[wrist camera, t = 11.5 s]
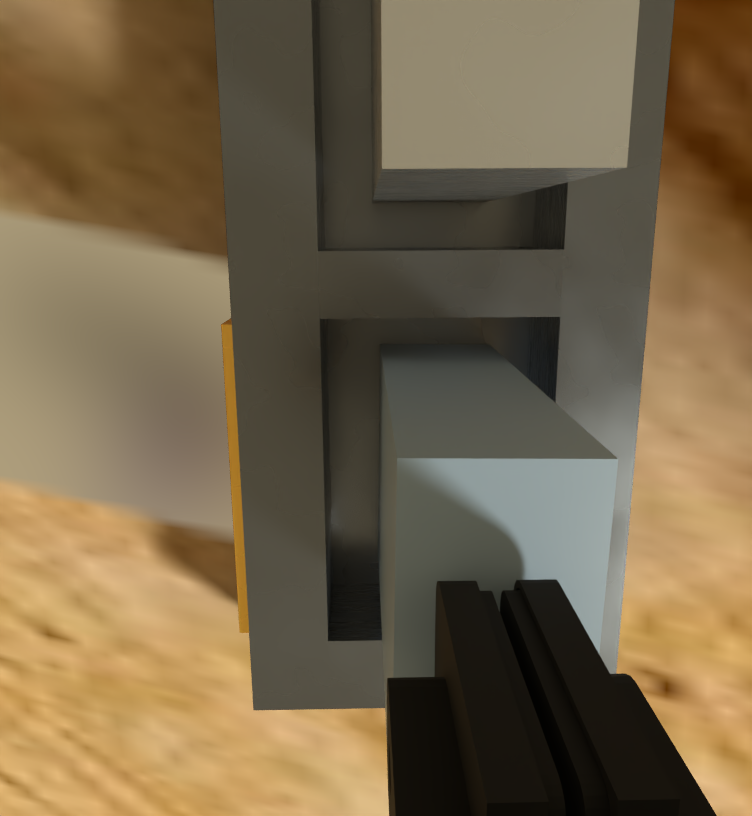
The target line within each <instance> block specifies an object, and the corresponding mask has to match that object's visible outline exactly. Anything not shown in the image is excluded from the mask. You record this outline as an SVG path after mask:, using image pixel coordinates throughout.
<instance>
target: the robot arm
mask: <svg viewBox="0 0 752 816" xmlns="http://www.w3.org/2000/svg"><path fill="white" fill-rule="evenodd" d="M387 764H388V796H389V816H717V815H716V814H715V812H714V810H713V809H712V807H711V806H710V804H709V802H708V801H707V799H706V797H705V796H704V794H703V792H702V791H701V789H700V787H699V786H698V784H697V782H696V781H695V779H694V778H693V776H692V774H691V773H690V771H689V769H688V768H687V766H686V764H685V763H684V761H683V759H682V758H681V756H680V754H679V753H678V751H677V750H676V748H675V746H674V745H673V743H672V741H671V740H670V738H669V736H668V735H667V733H666V731H665V730H664V728H663V726H662V725H661V723H660V721H659V720H658V718H657V717H656V715H655V713H654V712H653V710H652V708H651V707H650V705H649V703H648V702H647V700H646V698H645V697H644V695H643V693H642V692H641V690H640V689H639V687H638V685H637V684H636V682H635V681H634V680H633V679H632V677H631V676H629V675H627V674H610V673H609V671H608V669H607V667H606V666H605V664H604V662H603V660H602V658H601V657H600V655H599V653H598V651H597V650H596V648H595V646H594V644H593V642H592V641H591V639H590V637H589V635H588V633H587V632H586V630H585V628H584V626H583V625H582V623H581V621H580V619H579V617H578V616H577V614H576V612H575V610H574V608H573V607H572V605H571V603H570V601H569V600H568V598H567V596H566V594H565V592H564V591H563V589H562V587H561V585H560V584H559V582H558V581H557V580H556V579H544V580H516V582H515V585H514V590H503V591H502V593H501V600H500V611H499V609H498V606H497V603H496V600H495V598H494V595H493V592H492V591H480V590H479V587H478V584H477V582H476V581H437V584H436V612H435V676H434V677H401V678H387Z"/></svg>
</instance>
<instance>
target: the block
mask: <svg viewBox="0 0 752 816" xmlns="http://www.w3.org/2000/svg"><path fill="white" fill-rule="evenodd" d="M617 468H618V458H617V457H616V456H614V455H613V454H612V453H611V452H610V451H609V450H608V449H607V448H605V447H604V446H603V445H602V444H601V443H600V442H599V441H598V440H596V439H595V438H594V437H593V436H592V435H591V434H590V433H589V432H587V431H586V430H585V429H584V428H583V427H582V426H581V425H580V424H578V423H577V422H576V421H575V420H574V419H573V418H572V417H571V416H569V415H568V414H567V413H566V412H565V411H564V410H563V409H562V408H560V407H559V406H558V405H557V404H556V403H555V402H554V401H553V400H551V399H550V398H549V397H548V396H547V395H546V394H545V393H544V392H542V391H541V390H540V389H539V388H538V387H537V386H536V385H535V384H533V383H532V382H531V381H530V380H529V379H528V378H527V377H526V376H524V375H523V374H522V373H521V372H520V371H519V370H518V369H517V368H515V367H514V366H513V365H512V364H511V363H510V362H509V361H508V360H506V359H505V358H504V357H503V356H502V355H501V354H500V353H499V352H497V351H496V350H495V349H494V348H493V347H492V346H491V345H490V344H380V388H379V483H378V561H379V582H380V604H381V626H382V647H383V669H384V691H385V712H386V734H387V678H401V677H434V676H435V612H436V584H437V581H476V582H477V584H478V587H479V590H480V591H492V592H493V595H494V598H495V600H496V603H497V606H498V609H499V611H500V600H501V593H502V591H503V590H514V585H515V582H516V580H544V579H556V580H557V581H558V582H559V584H560V585H561V587H562V589H563V591H564V592H565V594H566V596H567V598H568V600H569V601H570V603H571V605H572V607H573V608H574V610H575V612H576V614H577V616H578V617H579V619H580V621H581V623H582V625H583V626H584V628H585V630H586V632H587V633H588V635H589V637H590V639H591V641H592V642H593V644H594V646H595V648H596V650H597V651H598V653H599V652H600V642H601V632H602V622H603V611H604V601H605V591H606V581H607V570H608V560H609V550H610V540H611V529H612V519H613V509H614V499H615V488H616V478H617Z"/></svg>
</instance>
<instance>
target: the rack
mask: <svg viewBox="0 0 752 816" xmlns="http://www.w3.org/2000/svg"><path fill="white" fill-rule="evenodd" d="M213 3H214V21H215V38H216V56H217V73H218V91H219V109H220V126H221V144H222V162H223V179H224V197H225V215H226V232H227V250H228V268H229V284H230V303H231V319H229V320H228V321H226V322H224V323H223V324H221V329H222V344H223V345H222V346H223V363H224V379H225V396H226V412H227V429H228V446H229V462H230V479H231V495H232V512H233V529H234V545H235V562H236V578H237V595H238V611H239V628H240V633H249V638H250V656H251V673H252V691H253V709H254V710H294V709H352V708H385V691H384V669H383V647H382V626H381V604H380V582H379V561H378V483H379V388H380V344H490V345H491V346H492V347H493V348H494V349H495V350H496V351H497V352H499V353H500V354H501V355H502V356H503V357H504V358H505V359H506V360H508V361H509V362H510V363H511V364H512V365H513V366H514V367H515V368H517V369H518V370H519V371H520V372H521V373H522V374H523V375H524V376H526V377H527V378H528V379H529V380H530V381H531V382H532V383H533V384H535V385H536V386H537V387H538V388H539V389H540V390H541V391H542V392H544V393H545V394H546V395H547V396H548V397H549V398H550V399H551V400H553V401H554V402H555V403H556V404H557V405H558V406H559V407H560V408H562V409H563V410H564V411H565V412H566V413H567V414H568V415H569V416H571V417H572V418H573V419H574V420H575V421H576V422H577V423H578V424H580V425H581V426H582V427H583V428H584V429H585V430H586V431H587V432H589V433H590V434H591V435H592V436H593V437H594V438H595V439H596V440H598V441H599V442H600V443H601V444H602V445H603V446H604V447H605V448H607V449H608V450H609V451H610V452H611V453H612V454H613V455H614V456H616V457H617V458H618V468H617V478H616V488H615V499H614V509H613V519H612V529H611V540H610V550H609V560H608V570H607V581H606V591H605V601H604V611H603V622H602V632H601V642H600V652H599V655H600V657H601V658H602V660H603V662H604V664H605V666H606V667H607V669H608V671H609V673H610V674H616V669H617V657H618V646H619V634H620V623H621V612H622V600H623V589H624V577H625V566H626V554H627V543H628V531H629V520H630V508H631V497H632V485H633V474H634V463H635V451H636V440H637V428H638V417H639V405H640V394H641V382H642V371H643V359H644V348H645V337H646V325H647V314H648V302H649V291H650V279H651V268H652V256H653V245H654V233H655V222H656V210H657V199H658V188H659V176H660V165H661V153H662V142H663V130H664V119H665V107H666V96H667V84H668V73H669V61H670V50H671V39H672V27H673V16H674V4H675V0H213Z"/></svg>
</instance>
